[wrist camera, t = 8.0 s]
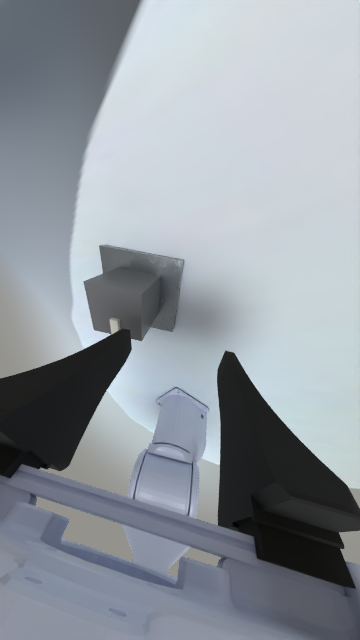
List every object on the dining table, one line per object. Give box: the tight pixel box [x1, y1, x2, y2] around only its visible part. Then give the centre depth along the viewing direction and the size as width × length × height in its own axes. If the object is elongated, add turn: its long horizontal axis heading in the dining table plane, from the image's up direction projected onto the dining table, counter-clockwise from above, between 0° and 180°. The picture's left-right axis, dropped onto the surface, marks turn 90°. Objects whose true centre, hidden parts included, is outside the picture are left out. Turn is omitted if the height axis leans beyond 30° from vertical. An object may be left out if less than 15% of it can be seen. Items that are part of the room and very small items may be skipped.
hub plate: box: [99, 245, 184, 332], centre depth 18 cm, size 10×10×4 cm
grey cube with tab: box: [84, 267, 161, 341], centre depth 17 cm, size 5×5×6 cm
